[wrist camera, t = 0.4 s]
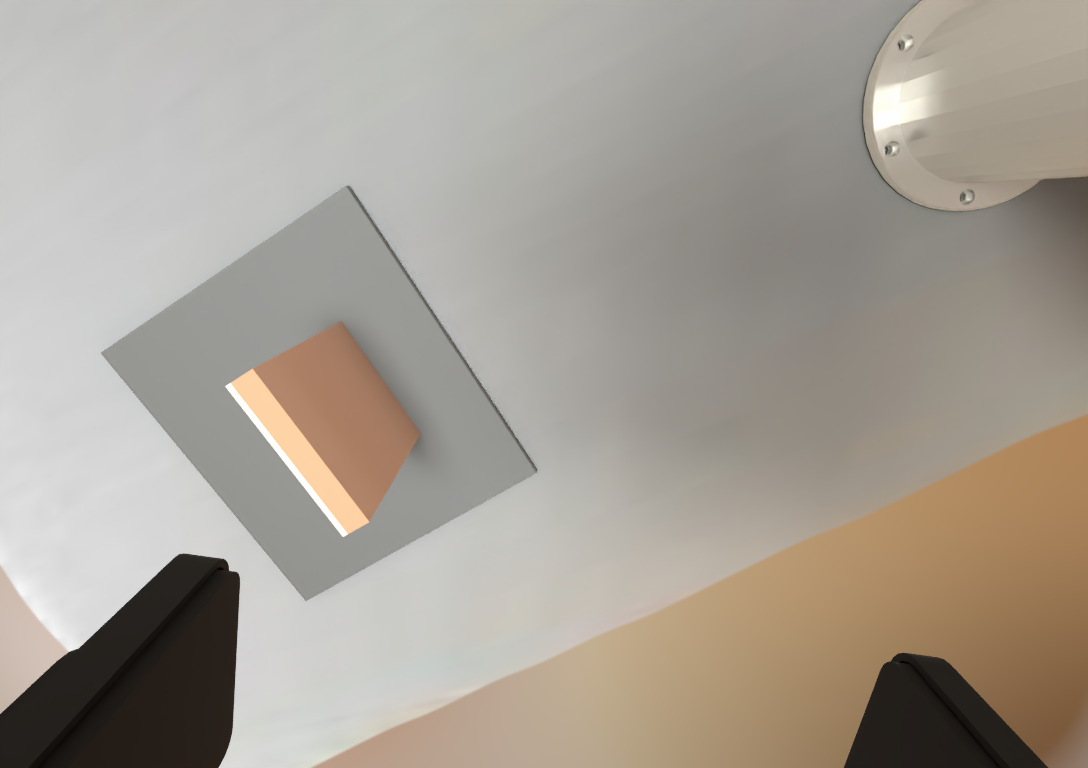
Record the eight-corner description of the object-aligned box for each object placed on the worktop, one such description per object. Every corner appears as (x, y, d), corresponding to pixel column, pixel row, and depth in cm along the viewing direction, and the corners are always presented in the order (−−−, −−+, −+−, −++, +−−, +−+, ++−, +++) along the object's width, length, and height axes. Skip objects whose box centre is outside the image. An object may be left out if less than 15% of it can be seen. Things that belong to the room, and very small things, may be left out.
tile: (341, 321, 39) (252, 368, 27) (420, 433, 41) (369, 522, 29) (321, 333, 39) (225, 386, 28) (401, 445, 41) (342, 536, 30)
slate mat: (349, 186, 37) (345, 186, 37) (536, 469, 42) (536, 473, 42) (107, 350, 40) (100, 353, 40) (309, 595, 45) (305, 600, 45)
